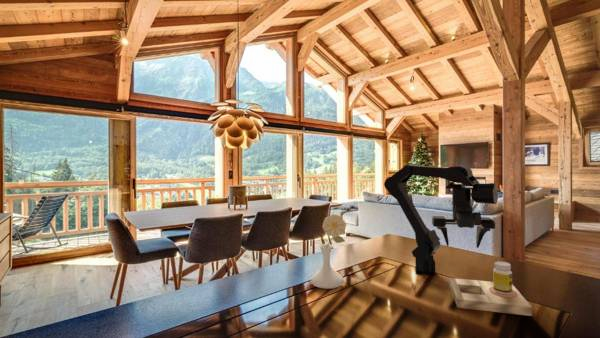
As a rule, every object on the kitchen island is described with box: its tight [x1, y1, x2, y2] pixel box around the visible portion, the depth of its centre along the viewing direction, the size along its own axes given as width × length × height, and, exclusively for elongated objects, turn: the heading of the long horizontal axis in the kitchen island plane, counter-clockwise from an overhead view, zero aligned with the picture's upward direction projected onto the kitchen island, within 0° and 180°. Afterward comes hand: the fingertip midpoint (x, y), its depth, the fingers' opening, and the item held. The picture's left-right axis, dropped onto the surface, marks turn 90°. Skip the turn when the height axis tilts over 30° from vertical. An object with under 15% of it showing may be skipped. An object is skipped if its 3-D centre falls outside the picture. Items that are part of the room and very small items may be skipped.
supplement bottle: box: [492, 260, 513, 294], centre depth 90 cm, size 5×5×8 cm
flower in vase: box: [310, 213, 347, 290], centre depth 104 cm, size 13×11×25 cm
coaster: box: [489, 287, 518, 298], centre depth 90 cm, size 7×7×1 cm
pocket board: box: [448, 277, 533, 317], centre depth 91 cm, size 18×16×2 cm
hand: (462, 246), depth 105 cm, fingers open, 9 cm apart
